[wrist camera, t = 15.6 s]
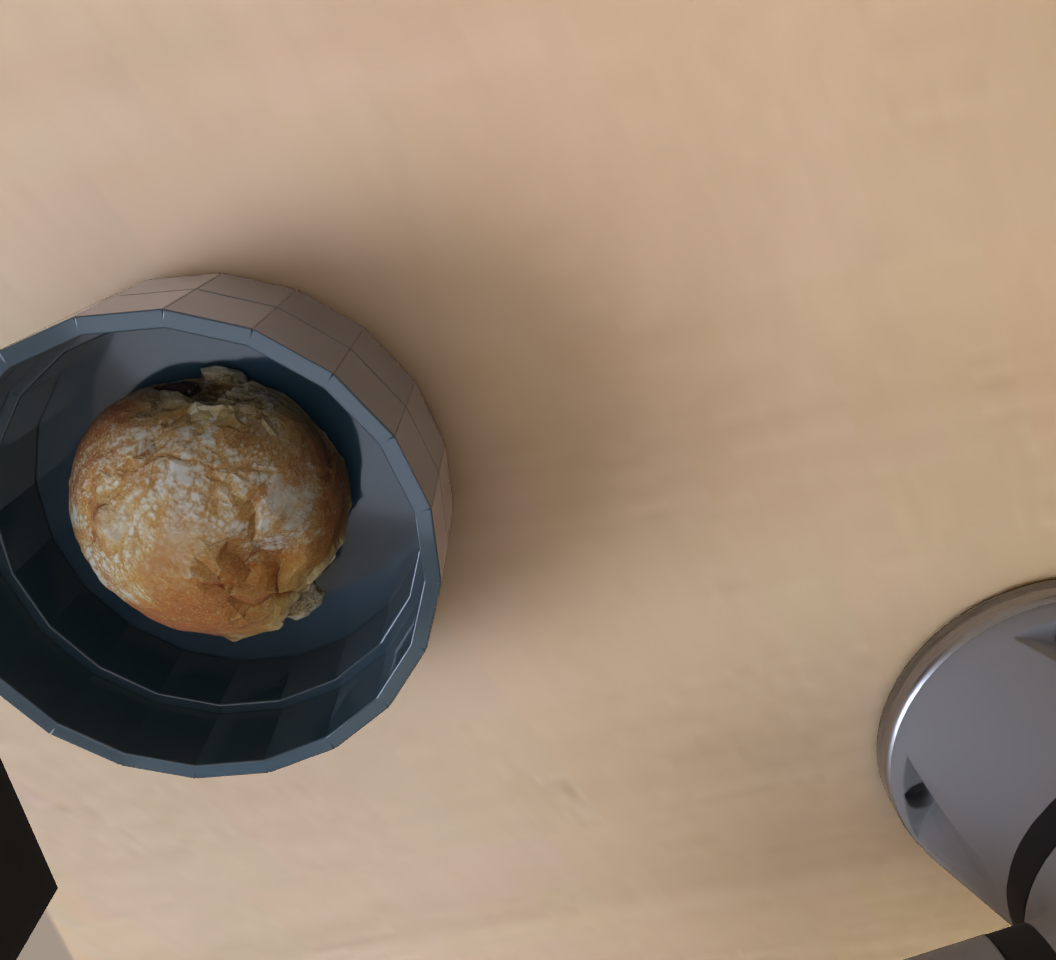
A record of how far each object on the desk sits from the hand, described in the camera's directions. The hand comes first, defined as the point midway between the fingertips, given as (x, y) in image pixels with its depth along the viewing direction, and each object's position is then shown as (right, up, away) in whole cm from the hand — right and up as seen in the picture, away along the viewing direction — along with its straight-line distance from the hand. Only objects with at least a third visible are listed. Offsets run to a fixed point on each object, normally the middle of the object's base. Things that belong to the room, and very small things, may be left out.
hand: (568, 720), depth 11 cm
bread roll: (-12, +2, +27) cm, 30 cm away
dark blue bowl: (-12, +2, +28) cm, 30 cm away
